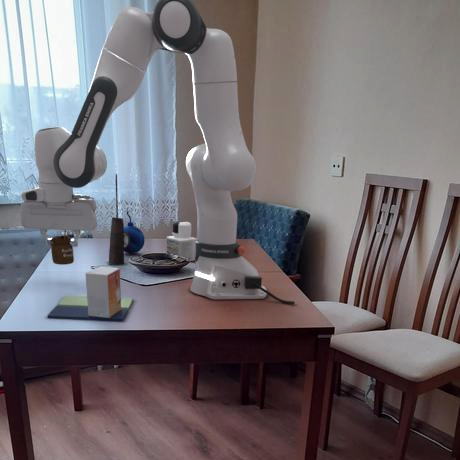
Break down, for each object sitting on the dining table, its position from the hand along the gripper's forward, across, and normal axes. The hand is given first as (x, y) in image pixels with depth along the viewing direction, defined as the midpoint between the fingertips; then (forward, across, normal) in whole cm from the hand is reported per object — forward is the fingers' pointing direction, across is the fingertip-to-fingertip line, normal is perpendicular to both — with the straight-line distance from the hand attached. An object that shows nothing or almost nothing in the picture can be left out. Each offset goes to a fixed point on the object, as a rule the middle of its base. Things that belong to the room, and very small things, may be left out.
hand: (61, 245), depth 156 cm
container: (+12, -31, -40) cm, 52 cm away
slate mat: (+11, -13, +28) cm, 32 cm away
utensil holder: (+5, 0, 0) cm, 5 cm away
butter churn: (+11, -10, -28) cm, 32 cm away
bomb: (+12, -12, -46) cm, 49 cm away
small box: (+10, -17, +28) cm, 34 cm away
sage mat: (+11, -12, +18) cm, 25 cm away
